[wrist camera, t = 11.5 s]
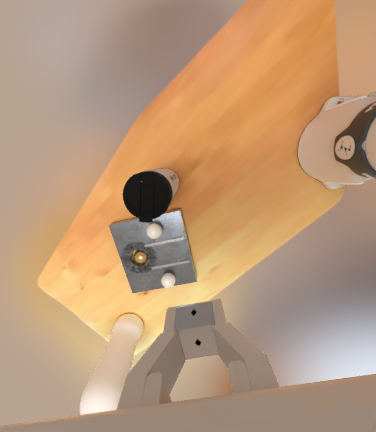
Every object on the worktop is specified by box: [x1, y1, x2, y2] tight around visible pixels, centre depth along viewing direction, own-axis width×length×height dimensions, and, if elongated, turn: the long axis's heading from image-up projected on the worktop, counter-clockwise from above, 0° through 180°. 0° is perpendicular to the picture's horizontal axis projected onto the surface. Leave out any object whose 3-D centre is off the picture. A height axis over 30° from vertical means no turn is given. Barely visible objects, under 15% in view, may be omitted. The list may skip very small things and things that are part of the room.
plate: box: [109, 208, 197, 293], centre depth 45 cm, size 17×19×3 cm
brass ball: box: [134, 249, 148, 263], centre depth 45 cm, size 4×4×4 cm
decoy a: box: [161, 273, 176, 288], centre depth 44 cm, size 4×4×4 cm
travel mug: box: [123, 168, 179, 223], centre depth 32 cm, size 6×7×20 cm
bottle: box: [80, 313, 143, 415], centre depth 39 cm, size 8×8×30 cm
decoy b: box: [146, 223, 162, 239], centre depth 41 cm, size 4×4×4 cm
